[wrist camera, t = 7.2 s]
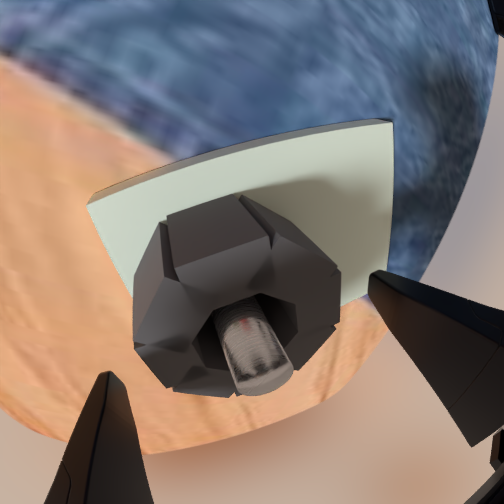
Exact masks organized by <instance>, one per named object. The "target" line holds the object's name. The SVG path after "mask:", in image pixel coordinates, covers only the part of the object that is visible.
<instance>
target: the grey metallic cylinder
mask: <svg viewBox="0 0 504 504" xmlns="http://www.w3.org/2000/svg"><path fill="white" fill-rule="evenodd" d="M211 316H212V319H213V322H214V325H215V328H216V331H217V334H218V337H219V340H220V343H221V346H222V349H223V352H224V355H225V358H226V360H227V363H228V366H229V369H230V371H231V374H232V377H233V380H234V382H235V385H236V388H237V390H238V392H239V393H241V394H243V395H246V396H258V395H263V394H266V393H269V392H272V391H274V390H276V389H278V388H279V387H281V386H282V385H283V384H285V383H286V382H287V381H288V380H289V379H290V377H291V376H292V374H293V371H294V368H293V365H292V363H291V362H290V360H289V358H288V356H287V355H286V353H285V351H284V349H283V347H282V346H281V344H280V342H279V340H278V338H277V337H276V335H275V333H274V331H273V329H272V327H271V326H270V324H269V322H268V320H267V318H266V317H265V315H264V313H263V311H262V309H261V307H260V306H259V304H258V302H257V300H256V298H255V296H254V295H253V296H250V297H248V298H245V299H242V300H239V301H237V302H234V303H231V304H229V305H226V306H223V307H220V308H217V309H215V310H213V311H212V313H211Z"/></svg>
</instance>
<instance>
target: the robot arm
mask: <svg viewBox="0 0 504 504" xmlns="http://www.w3.org/2000/svg"><path fill="white" fill-rule="evenodd" d="M488 1H489V5H490V8H491V12H492V16H493V21H494V25H495V29H496V32H497V33H498V34H499V35H500V36H502V37H503V38H504V0H488ZM367 292H368V296H369V298H370V300H371V301H372V303H373V304H374V306H375V307H376V309H377V311H378V312H379V314H380V315H381V317H382V319H383V320H384V322H385V324H386V325H387V327H388V328H389V330H390V331H391V332H392V334H393V335H394V336H395V338H396V339H397V340H398V342H399V343H400V344H401V346H402V347H403V348H404V350H405V351H406V352H407V354H408V355H409V356H410V358H411V359H412V361H413V362H414V363H415V365H416V366H417V367H418V369H419V370H420V372H421V373H422V374H423V376H424V377H425V378H426V380H427V381H428V383H429V384H430V386H431V387H432V389H433V390H434V391H435V393H436V394H437V396H438V397H439V399H440V400H441V402H442V403H443V405H444V406H445V408H446V409H447V410H448V412H449V414H450V415H451V417H452V418H453V420H454V421H455V423H456V424H457V426H458V428H459V429H460V431H461V432H462V434H463V435H464V437H465V439H466V440H467V442H468V444H469V445H470V446H471V447H473V446H475V445H476V444H478V443H479V442H481V441H482V440H484V439H485V438H487V437H488V436H490V435H491V434H492V433H494V432H495V431H496V430H498V429H499V428H500V429H499V430H498V431H497V432H496V433H495V434H494V436H493V441H492V450H491V457H490V464H491V465H492V467H493V468H494V470H495V473H494V474H493V475H492V476H491V477H490V478H489V479H488V480H487V481H486V482H485V483H484V484H483V485H482V486H481V487H480V489H478V490H477V492H475V493H474V494H473V495H472V496H471V497H470V498H469V499H468V500H467V501H466V502H465V503H464V504H504V311H503V310H499V309H496V308H492V307H489V306H486V305H483V304H480V303H477V302H474V301H471V300H467V299H466V298H463V297H460V296H457V295H454V294H452V293H449V292H446V291H443V290H440V289H437V288H434V287H431V286H429V285H425V284H423V283H420V282H417V281H414V280H411V279H408V278H405V277H402V276H399V275H396V274H393V273H390V272H387V271H384V270H380V269H379V270H376V271H374V272H372V273H370V275H369V280H368V289H367ZM44 504H154V502H153V499H152V495H151V491H150V488H149V484H148V480H147V476H146V472H145V468H144V463H143V459H142V454H141V449H140V444H139V439H138V434H137V429H136V425H135V421H134V418H133V414H132V410H131V406H130V403H129V398H128V394H127V390H126V387H125V385H124V384H123V382H122V381H121V380H120V379H119V378H118V377H117V376H116V375H115V374H114V373H113V372H112V371H105V372H102V373H100V374H99V375H98V377H97V379H96V381H95V383H94V385H93V388H92V390H91V392H90V394H89V396H88V398H87V400H86V403H85V405H84V407H83V409H82V411H81V414H80V416H79V418H78V421H77V423H76V425H75V428H74V430H73V432H72V435H71V437H70V440H69V442H68V445H67V447H66V450H65V452H64V455H63V458H62V461H61V463H60V465H59V468H58V471H57V474H56V476H55V479H54V481H53V484H52V486H51V488H50V491H49V493H48V495H47V498H46V500H45V502H44Z"/></svg>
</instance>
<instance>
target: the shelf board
mask: <svg viewBox="0 0 504 504" xmlns="http://www.w3.org/2000/svg"><path fill="white" fill-rule="evenodd" d="M393 176H394V150H393V123H392V122H388V121H383V120H378V119H367V120H359V121H351V122H344V123H337V124H331V125H325V126H319V127H313V128H308V129H302V130H297V131H292V132H287V133H282V134H278V135H273V136H269V137H264V138H260V139H256V140H252V141H248V142H244V143H240V144H236V145H232V146H229V147H225V148H221V149H218V150H214V151H211V152H208V153H204V154H201V155H198V156H194V157H191V158H188V159H185V160H182V161H179V162H176V163H173V164H170V165H167V166H164V167H161V168H158V169H155V170H152V171H150V172H147V173H144V174H142V175H139V176H136V177H134V178H131V179H128V180H126V181H123V182H121V183H118V184H116V185H113V186H111V187H109V188H106V189H104V190H101V191H99V192H97V193H95V194H93V195H92V197H91V198H90V200H89V201H88V203H87V205H86V207H87V209H88V212H89V214H90V216H91V218H92V221H93V223H94V225H95V227H96V229H97V231H98V234H99V236H100V238H101V240H102V242H103V244H104V246H105V248H106V250H107V252H108V254H109V256H110V258H111V260H112V262H113V264H114V266H115V267H116V269H117V271H118V273H119V275H120V277H121V279H122V280H123V282H124V284H125V286H126V288H127V289H128V291H129V293H130V295H131V296H132V298H133V281H134V274H135V272H136V270H137V268H138V265H139V263H140V261H141V259H142V256H143V254H144V252H145V250H146V248H147V246H148V244H149V241H150V239H151V237H152V235H153V233H154V231H155V229H156V227H157V225H158V223H159V222H161V223H163V224H165V225H168V224H167V217H166V215H169V214H172V213H175V212H178V211H181V210H184V209H187V208H190V207H192V206H195V205H198V204H201V203H204V202H208V201H211V200H214V199H217V198H220V197H223V196H226V195H229V194H233V195H234V196H235V197H236V198H237V199H238V200H239V198H240V196H241V195H244V196H246V197H248V198H250V199H251V200H253V201H255V202H257V203H259V204H261V205H262V206H264V207H266V208H268V209H270V210H272V211H273V212H275V213H277V214H279V215H280V216H282V217H284V218H286V219H288V220H289V221H291V222H292V223H293V224H294V225H295V226H296V227H298V228H299V229H300V230H301V231H302V232H303V233H304V234H305V235H306V236H307V237H308V238H309V239H310V240H312V241H313V242H314V243H315V244H316V245H317V246H318V247H319V248H320V249H321V250H322V251H323V252H324V253H325V254H326V255H327V256H328V257H329V258H330V259H331V260H332V261H334V262H335V263H336V264H337V265H338V267H337V268H338V269H339V270H340V271H341V304H340V307H341V306H343V305H345V304H347V303H349V302H351V301H353V300H355V299H357V298H359V297H361V296H363V295H365V294H367V293H368V292H367V289H368V280H369V275H370V273H372V272H374V271H376V270H379V269H380V270H384V271H386V268H387V261H388V252H389V243H390V233H391V220H392V204H393Z"/></svg>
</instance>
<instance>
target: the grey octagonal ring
mask: <svg viewBox="0 0 504 504" xmlns="http://www.w3.org/2000/svg"><path fill="white" fill-rule="evenodd" d="M166 217H167V224H168V225H165V224H163V223H161V222H159V223H158V225H157V227H156V229H155V231H154V233H153V235H152V237H151V239H150V241H149V244H148V246H147V248H146V250H145V252H144V254H143V256H142V259H141V261H140V263H139V265H138V268H137V270H136V272H135V274H134V281H133V341H134V350H135V351H136V352H137V353H138V355H139V356H140V357H141V359H142V360H143V361H144V362H145V364H146V365H147V366H148V367H149V369H150V370H151V371H152V372H153V373H154V375H155V376H156V377H157V378H158V379H159V380H160V382H161V383H162V384H163V385H164V386H165V387H166V388H170V387H172V388H173V392H180V393H187V394H195V395H204V396H214V397H225V398H229V397H230V396H231V395H232V394H233V393H234V392H235V394H236V396H240V395H243V394H241V393H239V392H238V390H237V388H236V385H235V382H234V380H233V377H232V374H231V371H230V369H229V366H228V363H227V360H226V358H225V355H224V352H223V349H222V346H221V343H220V340H219V337H218V334H217V331H216V328H215V325H214V322H213V319H212V316H211V313H212V311H213V310H215V309H217V308H220V307H223V306H226V305H229V304H231V303H234V302H237V301H239V300H242V299H245V298H248V297H250V296H253V295H254V296H255V298H256V300H257V302H258V304H259V306H260V307H261V309H262V311H263V313H264V315H265V317H266V318H267V320H268V322H269V324H270V326H271V327H272V329H273V331H274V333H275V335H276V337H277V338H278V340H279V342H280V344H281V346H282V347H283V349H284V351H285V353H286V355H287V356H288V358H289V360H290V362H291V363H292V365H293V368H294V370H300V369H301V367H302V366H303V365H304V364H305V363H306V362H307V361H308V360H309V359H310V358H311V357H312V356H313V355H314V354H315V352H316V351H317V350H318V349H319V348H320V347H321V346H322V345H323V344H324V342H325V341H326V340H327V339H328V338H329V337H330V336H331V334H332V333H333V332H334V331H335V330H336V328H335V326H334V325H335V324H337V323H339V322H340V304H341V271H340V270H339V269H338V268H337V267H338V265H337V264H336V263H335V262H334V261H332V260H331V259H330V258H329V257H328V256H327V255H326V254H325V253H324V252H323V251H322V250H321V249H320V248H319V247H318V246H317V245H316V244H315V243H314V242H313V241H312V240H310V239H309V238H308V237H307V236H306V235H305V234H304V233H303V232H302V231H301V230H300V229H299V228H298V227H296V226H295V225H294V224H293V223H292V222H291V221H289V220H288V219H286V218H284V217H282V216H280V215H279V214H277V213H275V212H273V211H272V210H270V209H268V208H266V207H264V206H262V205H261V204H259V203H257V202H255V201H253V200H251V199H250V198H248V197H246V196H244V195H241V196H240V198H239V200H238V199H237V198H236V197H235V196H234V195H233V194H229V195H226V196H223V197H220V198H217V199H214V200H211V201H208V202H204V203H201V204H198V205H195V206H192V207H190V208H187V209H184V210H181V211H178V212H175V213H172V214H169V215H166Z"/></svg>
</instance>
